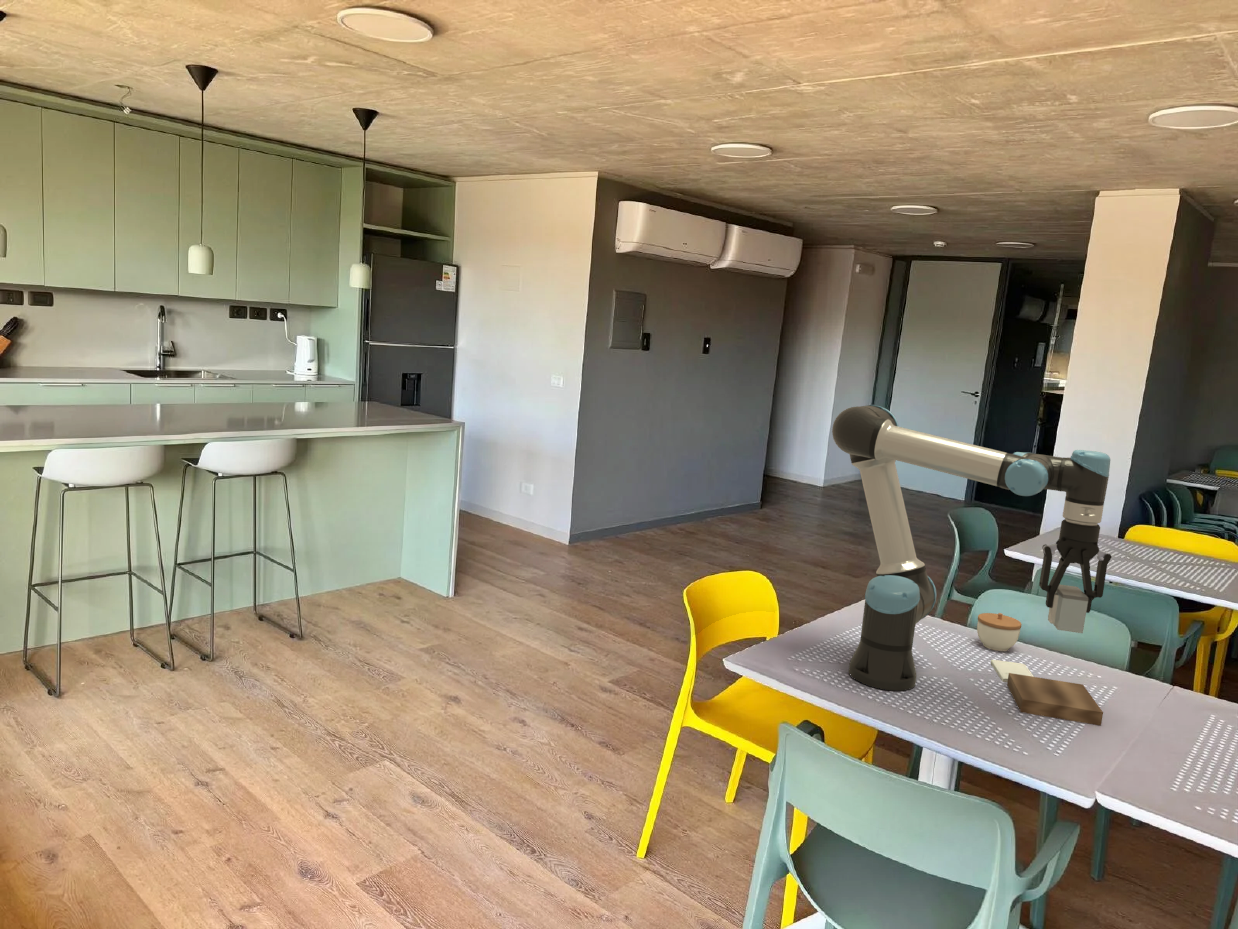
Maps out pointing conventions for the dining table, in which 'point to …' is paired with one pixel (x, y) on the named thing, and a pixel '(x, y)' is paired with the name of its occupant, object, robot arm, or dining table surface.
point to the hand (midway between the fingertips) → (1065, 623)
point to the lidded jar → (998, 631)
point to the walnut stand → (1054, 699)
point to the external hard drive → (1009, 669)
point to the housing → (1070, 609)
